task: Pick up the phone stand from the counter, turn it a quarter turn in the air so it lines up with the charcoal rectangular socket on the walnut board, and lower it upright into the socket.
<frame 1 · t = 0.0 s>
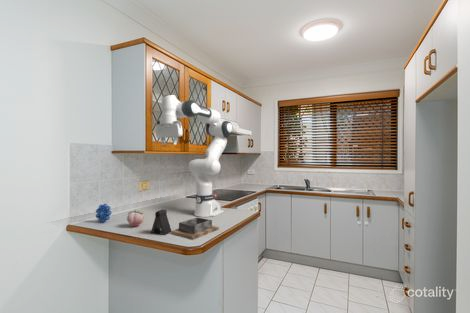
hand: (169, 144, 145), 48 cm above the countertop, tool pointing down, fingers open, 8 cm apart
grapes: (104, 222, 152), on the countertop
phone stand: (161, 233, 131), on the countertop
decorative fruit: (135, 226, 143), on the countertop
socket board: (195, 231, 133), on the countertop
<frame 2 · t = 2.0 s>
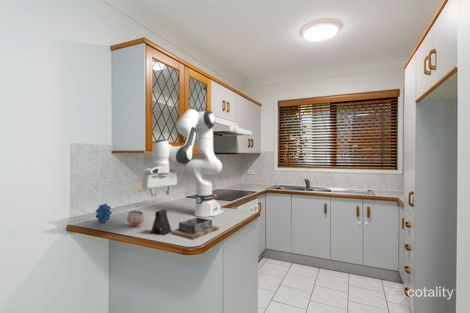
hand: (160, 195, 131), 20 cm above the countertop, tool pointing down, fingers open, 8 cm apart
nothing on the countertop moved.
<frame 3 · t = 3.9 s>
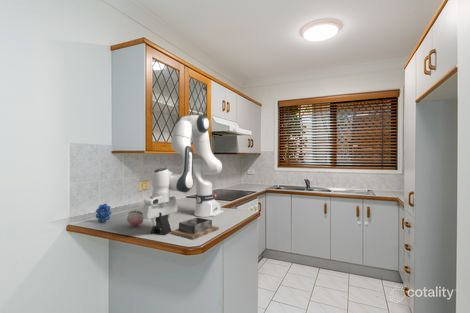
hand: (161, 224, 131), 5 cm above the countertop, tool pointing down, fingers closed on phone stand, 6 cm apart
phone stand: (161, 233, 131), on the countertop, touching gripper
everything else where it was.
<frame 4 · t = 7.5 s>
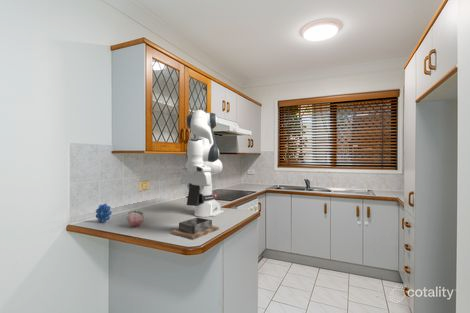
hand: (195, 193, 133), 21 cm above the countertop, tool pointing down, fingers closed on phone stand, 6 cm apart
phone stand: (195, 204, 133), point 15 cm above the countertop, touching gripper
everything else where it was.
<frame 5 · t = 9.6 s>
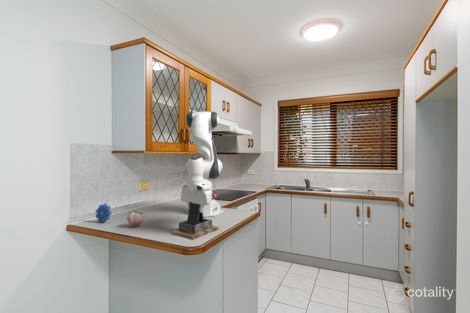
hand: (195, 211, 133), 11 cm above the countertop, tool pointing down, fingers closed on phone stand, 6 cm apart
phone stand: (195, 223, 133), point 4 cm above the countertop, touching gripper
everything else where it was.
when the fingers open (8 cm above the countertop, at t = 11.1 s): phone stand stays where it is, resting on socket board.
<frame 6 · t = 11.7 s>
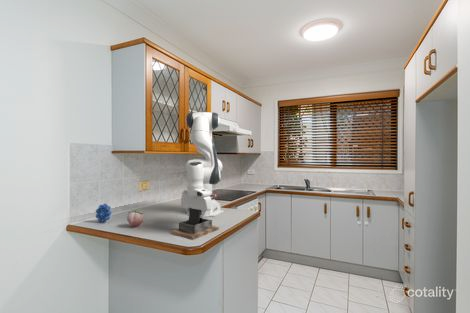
hand: (195, 216, 133), 8 cm above the countertop, tool pointing down, fingers open, 8 cm apart
phone stand: (195, 229, 133), point 1 cm above the countertop, touching socket board
everything else where it was.
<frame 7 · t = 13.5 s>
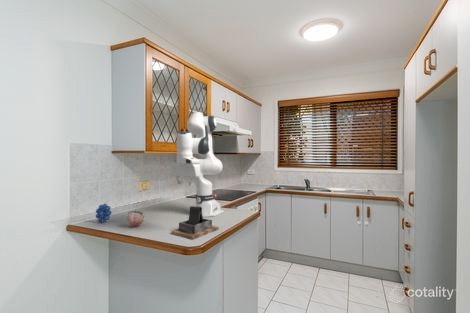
hand: (185, 184, 137), 25 cm above the countertop, tool pointing down, fingers open, 8 cm apart
nothing on the countertop moved.
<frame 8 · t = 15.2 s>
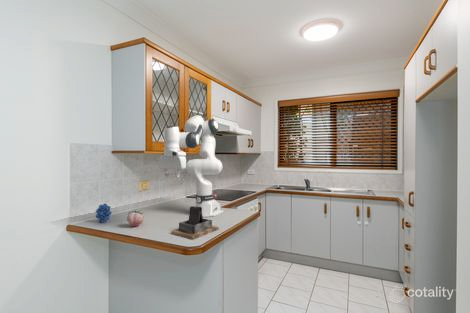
hand: (172, 176, 142), 29 cm above the countertop, tool pointing down, fingers open, 8 cm apart
nothing on the countertop moved.
at the end: phone stand 0.1 cm off-centre on the socket board, point 1.3 cm above the socket board's base; phone stand tilted 0°; the gripper is holding nothing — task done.
